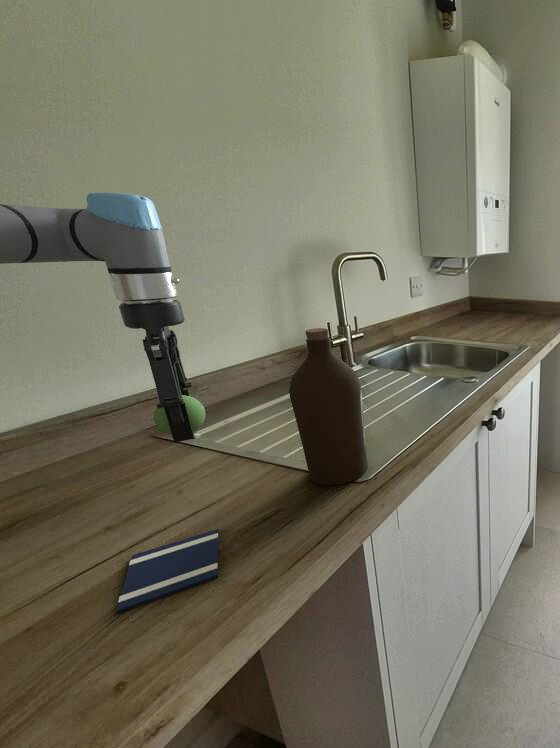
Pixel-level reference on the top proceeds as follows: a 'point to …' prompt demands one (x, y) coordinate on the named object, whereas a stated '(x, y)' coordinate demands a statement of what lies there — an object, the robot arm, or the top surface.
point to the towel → (170, 569)
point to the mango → (194, 412)
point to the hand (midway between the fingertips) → (185, 431)
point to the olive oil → (329, 413)
